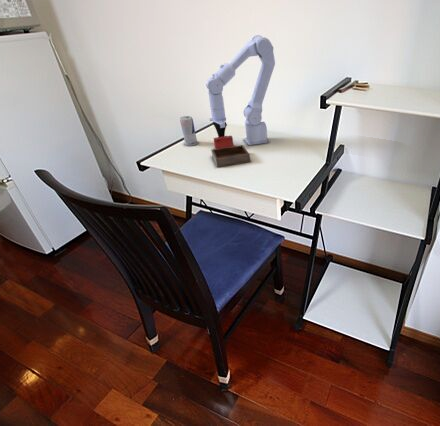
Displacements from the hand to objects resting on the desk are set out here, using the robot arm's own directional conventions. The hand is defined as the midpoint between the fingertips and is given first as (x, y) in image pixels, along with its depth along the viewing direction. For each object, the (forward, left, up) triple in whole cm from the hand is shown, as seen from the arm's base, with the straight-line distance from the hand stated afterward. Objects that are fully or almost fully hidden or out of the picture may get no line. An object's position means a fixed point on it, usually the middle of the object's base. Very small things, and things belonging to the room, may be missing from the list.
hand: (221, 138), depth 138 cm
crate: (0, +16, -3) cm, 17 cm away
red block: (0, +3, -3) cm, 4 cm away
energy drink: (+13, -7, -4) cm, 15 cm away
